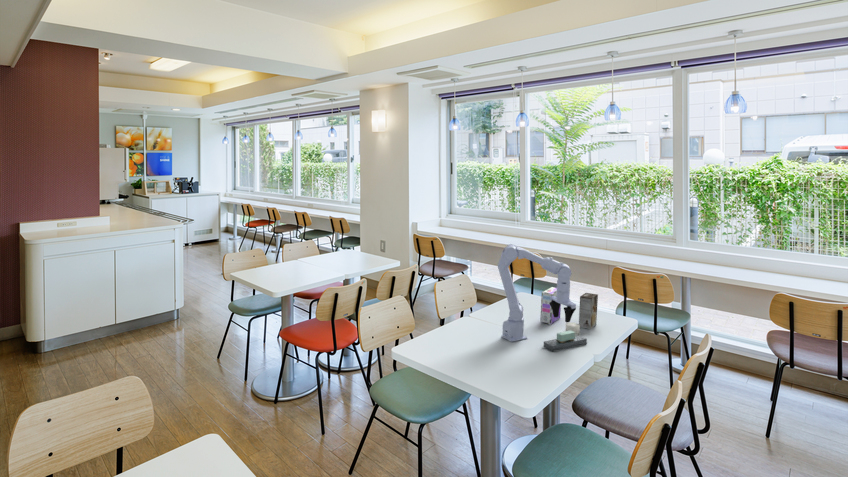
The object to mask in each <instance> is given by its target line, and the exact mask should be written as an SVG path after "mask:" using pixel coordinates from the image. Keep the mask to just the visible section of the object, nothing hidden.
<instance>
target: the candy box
mask: <svg viewBox="0 0 848 477" xmlns="http://www.w3.org/2000/svg"><path fill="white" fill-rule="evenodd" d="M556 294H557V287H553V286H551V287H550V288H547V289H545V290H544V291H542V292H541V300H540V301H541V302H540V321H539V322H540V323H543V324H546V325H552V324H553V323H556V321H558V320H559V319H560V318H561V311H562V310H561V309H562V308H561V306H562V304H561V305H560V308H559V316H558V317H554V315H553V311H552V308H551V306H550V304H549V303H550V302H551V301H550V297H551V296H555V297H556Z"/></svg>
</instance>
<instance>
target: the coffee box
mask: <svg viewBox="0 0 848 477" xmlns="http://www.w3.org/2000/svg"><path fill="white" fill-rule="evenodd" d="M598 298H599V294H597V293H591V292H585V293H583V294H582V295H580V296H579V309H578V311H579V312H578V324H579V325H580V328H582V329H588V330H592V329H593V328H594V327H596V326H597V320H598V319H597V316H598V304H599V303H598V300H599V299H598Z"/></svg>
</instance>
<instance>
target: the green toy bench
mask: <svg viewBox="0 0 848 477" xmlns="http://www.w3.org/2000/svg"><path fill="white" fill-rule="evenodd" d="M556 339H557V340H558V342H560V343H564V342H565V341H567V340H569V341H573V339H575V332H573V331H571V330H570V331H566V330H565V331H561V332H557V333H556Z"/></svg>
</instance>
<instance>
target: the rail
mask: <svg viewBox="0 0 848 477" xmlns="http://www.w3.org/2000/svg"><path fill="white" fill-rule="evenodd" d="M587 341H588V338H586V337H583V336H582V335H580V334H579V335H575V339H573V341H569V340H567V341H565V342H564V343H560V342H558V340H557V338H554V339H551V340H550V339H549V340H545V341H543V348H545V349H547V350H549V351H551V352H552V353H553V352H557V351H561V350H566V349H570V348H575V347H579V346H584V345H587V343H588V342H587Z"/></svg>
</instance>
